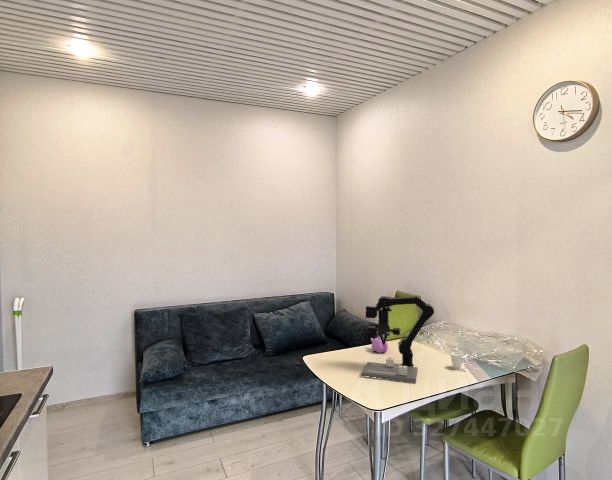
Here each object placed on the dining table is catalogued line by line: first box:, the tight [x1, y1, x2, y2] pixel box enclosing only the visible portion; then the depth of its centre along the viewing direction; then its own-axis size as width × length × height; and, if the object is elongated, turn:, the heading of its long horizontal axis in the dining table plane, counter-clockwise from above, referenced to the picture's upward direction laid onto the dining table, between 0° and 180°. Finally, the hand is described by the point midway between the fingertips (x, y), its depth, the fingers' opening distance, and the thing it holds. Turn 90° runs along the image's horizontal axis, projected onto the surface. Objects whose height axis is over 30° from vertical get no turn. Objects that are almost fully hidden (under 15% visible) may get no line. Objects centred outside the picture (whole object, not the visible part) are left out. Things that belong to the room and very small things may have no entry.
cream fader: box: [385, 357, 395, 367], centre depth 206 cm, size 3×4×4 cm
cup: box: [450, 351, 469, 371], centre depth 207 cm, size 7×10×8 cm
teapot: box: [369, 336, 389, 354], centre depth 239 cm, size 10×15×9 cm
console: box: [361, 361, 419, 384], centre depth 201 cm, size 16×28×3 cm, turn 70°
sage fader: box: [399, 364, 407, 376], centre depth 194 cm, size 3×4×4 cm
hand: (383, 344), depth 214 cm, fingers closed
